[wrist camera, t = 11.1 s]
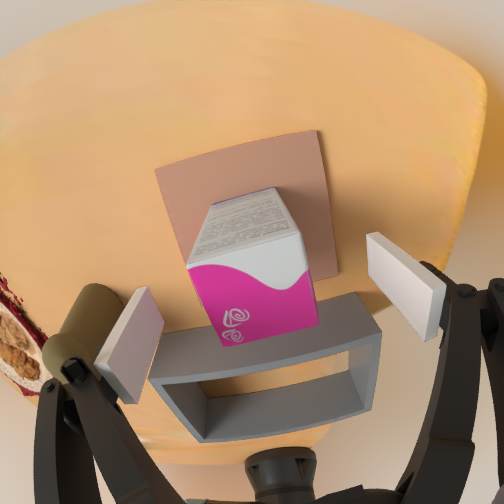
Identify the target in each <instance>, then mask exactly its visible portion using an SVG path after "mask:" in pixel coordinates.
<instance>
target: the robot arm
mask: <svg viewBox="0 0 504 504" xmlns="http://www.w3.org/2000/svg"><path fill="white" fill-rule="evenodd" d="M366 240H367V256H368V276H369V277H370V278H371V279H372V280H373V281H374V282H375V284H376V285H377V286H378V287H379V288H380V289H381V290H382V292H383V293H384V294H385V295H386V296H387V297H388V299H389V300H390V301H391V302H392V303H393V304H394V306H395V307H396V308H397V309H398V310H399V311H400V313H401V314H402V315H403V316H404V318H405V319H406V320H407V321H408V323H409V324H410V325H411V326H412V328H413V329H414V330H415V331H416V333H417V334H418V335H419V336H420V338H421V339H422V340H423V341H424V342H425V341H427V340H430V339H432V338H434V337H436V336H437V333H438V328H439V326H440V327H441V328H442V329H443V331H444V332H443V336H442V340H441V344H440V347H439V349H441V350H440V355H439V361H438V366H437V372H436V376H435V381H434V385H433V389H432V394H431V397H430V401H429V405H428V409H427V412H426V415H425V419H424V422H423V426H422V428H421V432H420V435H419V437H418V440H417V443H416V446H415V448H414V451H413V454H412V456H411V458H410V461H409V463H408V466H407V468H406V470H405V472H404V473H403V475H402V477H401V479H400V481H399V483H398V485H397V487H396V489H395V491H392V490H387V489H363V486H362V485H359V486H356V487H352V488H349V489H346V490H343V491H339V492H335V493H331V494H327V495H325V496H323V497H321V498H319V499H317V500H315V495H314V490H313V480H314V474H315V469H316V463H317V460H316V455H315V452H314V451H312V450H311V449H307V448H300V447H288V448H278V449H271V450H267V451H262V452H259V453H256V454H254V455H252V456H250V457H248V458H247V459H246V460H245V472H246V474H247V476H248V478H249V481H250V483H251V485H252V487H253V489H254V492H255V502H235V501H234V502H233V501H232V502H231V501H215V500H208V499H205V500H202V499H186V500H183V499H182V498H181V497H180V496H179V494H178V493H177V492H176V491H175V489H174V488H173V487H172V486H171V485H170V483H169V482H168V481H167V479H166V478H165V477H164V475H163V474H162V473H161V471H160V470H159V469H158V467H157V466H156V465H155V463H154V461H153V460H152V459H151V457H150V456H149V454H148V453H147V451H146V450H145V448H144V447H143V445H142V444H141V442H140V440H139V439H138V437H137V436H136V434H135V432H134V431H133V429H132V427H131V426H130V424H129V422H128V420H127V419H126V417H125V415H124V413H123V411H122V410H121V408H120V406H119V405H118V404H117V403H116V401H117V399H118V397H119V398H120V399H121V400H122V401H123V403H124V404H138V401H139V398H140V395H141V392H142V388H143V385H144V382H145V379H146V376H147V373H148V370H149V367H150V364H151V361H152V358H153V355H154V352H155V349H156V346H157V343H158V340H159V337H160V334H161V331H162V329H163V326H164V323H165V322H164V320H163V318H162V316H161V314H160V312H159V310H158V307H157V305H156V303H155V301H154V299H153V297H152V294H151V292H150V290H149V288H148V286H145V287H140V288H137V289H136V291H135V292H134V294H133V296H132V297H131V299H130V301H129V302H128V304H127V306H126V307H125V309H124V311H123V312H122V314H121V316H120V317H119V319H118V321H117V322H116V324H115V326H114V328H113V329H112V331H111V333H110V334H108V335H107V336H106V337H105V338H104V339H103V340H102V342H101V344H100V345H99V348H98V349H97V351H96V353H95V354H94V356H93V358H92V360H91V362H90V364H89V365H88V366H87V365H86V363H85V362H84V360H83V359H82V358H81V356H79V355H74V356H71V357H69V358H68V359H66V360H65V361H64V362H63V364H62V365H61V367H60V372H61V373H62V374H63V375H64V377H65V378H66V379H67V381H68V382H69V383H67V384H63V385H62V384H61V383H60V382H59V380H58V379H57V378H52V379H49V380H47V381H46V382H45V383H44V384H43V386H42V387H41V390H40V396H39V403H38V410H37V419H36V428H35V440H34V495H35V504H102V501H101V497H100V493H99V488H98V483H97V478H96V472H95V466H94V459H93V456H94V458H95V461H96V463H97V465H98V467H99V469H100V472H101V473H102V476H103V478H104V480H105V482H106V484H107V486H108V488H109V490H110V492H111V494H112V496H113V498H114V499H115V502H116V504H458V503H459V501H460V498H461V495H462V493H463V490H464V487H465V484H466V481H467V478H468V474H469V471H470V467H471V463H472V460H473V456H474V450H475V444H474V443H473V442H472V440H471V438H472V432H473V427H474V421H475V416H476V409H477V401H478V393H479V383H480V367H481V346H482V350H483V354H484V358H485V362H486V366H487V370H488V375H489V380H490V386H491V391H492V397H493V404H494V411H495V420H496V431H497V450H498V476H499V486H500V489H499V490H498V492H497V494H496V496H495V499H494V500H493V501H492V504H504V279H502V278H494V279H492V280H490V283H489V286H488V289H486V290H480V291H477V289H476V288H475V287H473V286H471V285H469V284H458V285H457V284H456V283H454V282H453V281H452V280H451V279H450V278H448V277H447V276H446V275H445V274H443V273H442V272H441V271H439V270H437V268H436V267H434V266H433V265H432V264H430V263H427V262H424V261H420V262H418V261H417V260H415V259H414V258H413V257H411V256H410V255H409V254H407V253H406V252H405V251H403V250H402V249H401V248H399V247H398V246H397V245H395V244H394V243H393V242H391V241H390V240H389V239H387V238H386V237H384V236H383V235H382V234H380V233H379V232H373V233H369V234H366Z"/></svg>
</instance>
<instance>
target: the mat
mask: <svg viewBox="0 0 504 504" xmlns="http://www.w3.org/2000/svg"><path fill="white" fill-rule="evenodd" d="M155 174H156V177H157V181H158V184H159V187H160V190H161V194H162V197H163V200H164V203H165V206H166V209H167V213H168V216H169V219H170V222H171V225H172V228H173V231H174V234H175V236H176V239H177V242H178V245H179V248H180V251H181V254H182V256H183V259H184V262H185V265H186V263H187V261H188V259H189V256H190V254H191V252H192V249H193V247H194V244H195V242H196V240H197V237H198V235H199V232H200V230H201V228H202V225H203V223H204V221H205V219H206V216H207V214H208V212H209V209H210V207H211V205H212V204H214V203H218V202H221V201H225V200H228V199H231V198H235V197H238V196H242V195H246V194H249V193H253V192H257V191H260V190H264V189H267V188H272V187H275V188H276V190H277V192H278V194H279V196H280V197H281V199H282V201H283V202H284V204H285V206H286V207H287V209H288V211H289V213H290V215H291V216H292V218H293V220H294V221H295V223H296V225H297V227H298V229H299V230H300V232H301V234H302V238H303V242H304V246H305V251H306V255H307V260H308V264H309V269H310V273H311V278H312V282H313V281H317V280H321V279H325V278H329V277H333V276H337V275H338V268H337V258H336V249H335V240H334V232H333V224H332V217H331V210H330V203H329V197H328V190H327V184H326V179H325V173H324V167H323V162H322V157H321V151H320V146H319V142H318V137H317V132H316V130H311V131H305V132H299V133H293V134H288V135H283V136H277V137H272V138H268V139H263V140H258V141H254V142H249V143H245V144H241V145H237V146H233V147H229V148H225V149H221V150H217V151H213V152H210V153H206V154H203V155H199V156H196V157H192V158H189V159H186V160H182V161H179V162H176V163H173V164H170V165H167V166H164V167H161V168H158V169H155ZM187 270H188V269H187ZM188 273H189V272H188ZM189 275H190V274H189ZM190 278H191V277H190ZM191 281H192V279H191ZM192 283H193V281H192ZM193 286H194V284H193ZM194 289H195V291H196V294H197V296H198V299H199V301H200V304H201V306H203V303H202V301H201V299H200V297H199V295H198V292H197V290H196V288H195V286H194Z"/></svg>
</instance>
